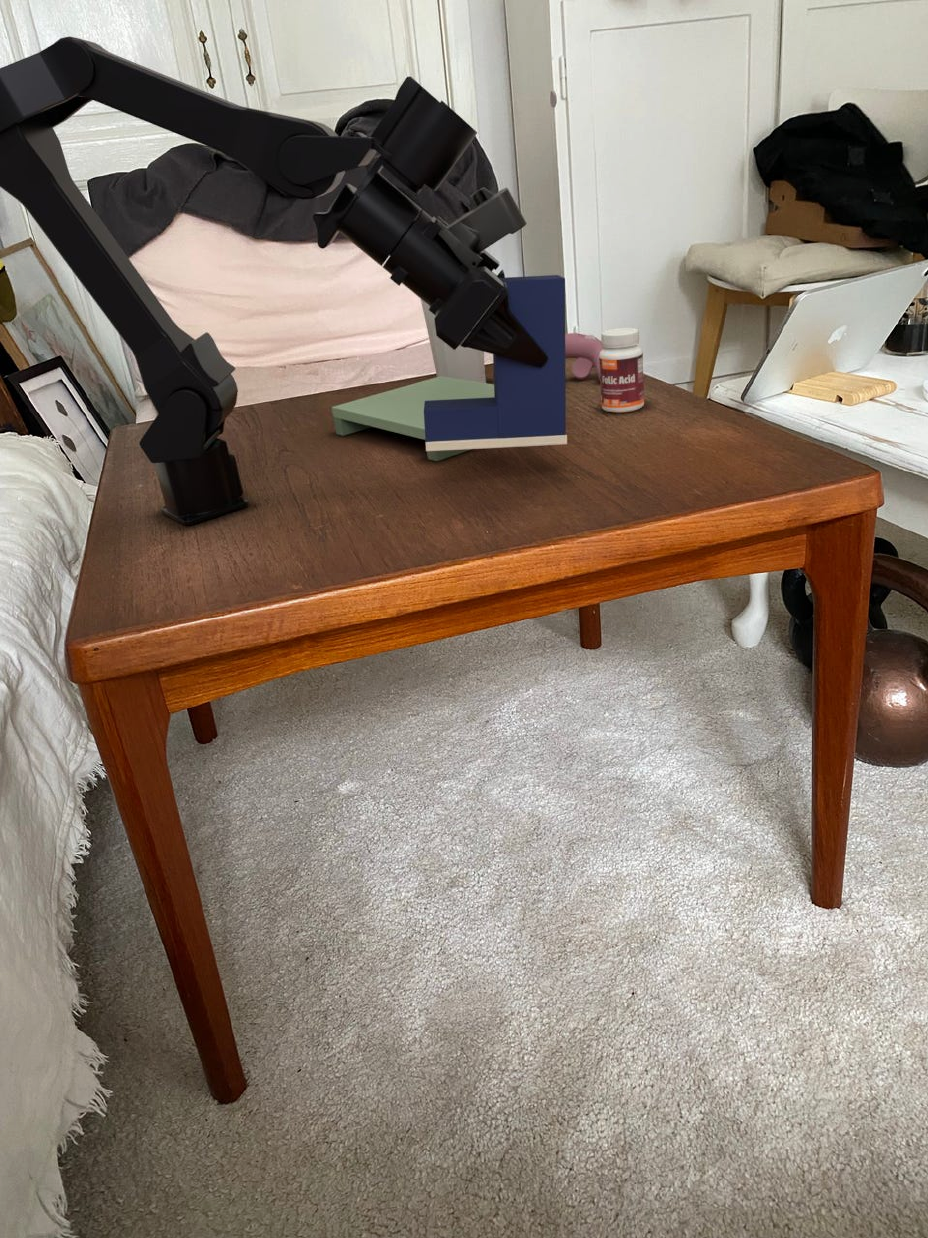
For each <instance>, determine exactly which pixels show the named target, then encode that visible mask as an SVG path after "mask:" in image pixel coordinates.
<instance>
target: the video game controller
mask: <svg viewBox="0 0 928 1238" xmlns="http://www.w3.org/2000/svg"><path fill="white" fill-rule="evenodd" d="M601 342H602V340H600V339H599V338H598V337H596V336H595V335H594V334H582V333H578V332H569V333H565V360H567V359H576V360H575V361H574V363H573V365H572V368H571V371H572V374H573V376H574V378H575V379H577V380H579V381H584V380H586V379H588V378H589V377H590V375H591V372H592V370H593V368H594V369H595V372H596V375H597V378H598V380H599V381H600V363H599V354H600V352H601V351H602V350H603V349H604V347H603V346H602V343H601Z"/></svg>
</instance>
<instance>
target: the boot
mask: <svg viewBox="0 0 928 1238" xmlns="http://www.w3.org/2000/svg"><path fill="white" fill-rule="evenodd" d="M499 279H500V280H501V281H502V282H503V284H504V283H505V282H506V284H507V289H508V300H509V309H510V311H511V312H512V313H513V315H514V316H515V317H516V318H517V319H518V321H519V322H520V323H521V324H522V325H523V327H524V328H525V329H526V330H527V331H528V333H529V334H530V335H531V336H532V337H533V339H534V340H535V341H536V342H537V344H538V345H539V346H540V347H541V348H542V350H543V351H544V352H545V353H546V355H547V356H548V360H547V361H546V363H545V364H544V365H543V366H542V367H537V366H533V365H530V364H526V363H523V362H519V361H516V360H513V359H509V358H506V357H502V356H498V355H495V354H492V363H493V364H492V365H493V367H492V368H493V384H494V397H489V398H469V399H450V400H430V401H425V403H424V424H425V440H424V441H426V442H425V452H427V451H446V450H466V449H472V450H483V449H502V448H503V449H505V448H522V447H523V448H525V447H542V446H562V445H567V444H568V435H567V430H566V429H567V423H566V422H567V421H566V420H567V417H566V412H567V409H566V407H567V405H566V398H567V396H566V394H567V393H566V389H567V388H566V359H565V334H566V278H565V277H564V276H561V275H559V274H550V275H549V274H547V275H529V276H510V277H509V276H508V277H505V278H499Z"/></svg>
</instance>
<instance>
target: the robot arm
mask: <svg viewBox="0 0 928 1238" xmlns="http://www.w3.org/2000/svg"><path fill="white" fill-rule="evenodd" d="M92 101H93V102H97V103H98V104H102V105H104V106H106V107H109V108H111V109H114V110H117V111H119V112H121V113H124V114H126V115H129V116H132V117H133V118H137V119H139V120H141V121H144V122H146V123H149V124H151V125H154V126H155V127H156V126H157V127H158V128H161V129H164V130H166V131H168V132H171V133H174V134H176V135H178V136H181V137H184V138H185V139H188V140H191V141H194V142H196V143H199V144H201V145H204V146H206V147H208V148H210V149H214V150H216V151H218V152H221V153H222V154H224V155H226V156H227V157H228V158H230V159H232V160H233V161H235V162H236V163H238V164H239V165H240V166H242V167H243V168H245V170H247V171H248V172H250V173H251V174H252V175H254V176H256V177H257V178H259V179H261V180H263V181H264V182H266V183H267V184H269V185H270V186H272V187H274V188H275V189H277V190H278V191H280V192H282V193H283V194H285V195H287V196H289V197H291V198H292V199H293V198H294V199H297V200H304V201H305V200H313V199H317V198H320V197H323V196H325V195H327V194H329V193H331V192H333V191H334V190H335V189H336V188H337V187H338V186H339V185H340V183H342V180H343V178H344V175H345V174H346V173H348V172H350V171H354V170H356V169H359V168H362V167H365V166H367V165H369V164H370V163H371V161H372V160H373V158H374V157H375V155H376V154H377V153H378V154H379V155H380V156H379V157H378V158H377V159H376V162H375V163H374V164H373V166H372V167H371V169H370V171H369V172H368V173H367V175H366V176H365V177H364V178H363V180H362V182H361V183H360V184H359V185H358V187H357V188H356V187H355V186H354V185H352V184H350V183H345V184H344V185H343V187H342V189H341V190H340V191H339V193H338V194H337V196H336V197H335V199H334V200H333V202H332V204H331V205H330V207H329V208H328V210H327V211H325V212H323V211H322V212H319V211H318V212H315V213H313V214H312V216H311V218H312V221H313V224H314V226H315V229H316V237H317V246H318V248H320V249H322V250H323V249H326V248H327V247H329V246H330V245H332V243H333V242H334V240H335V239H336V237H337V236H338V235H339V234H341V235H343V237H345V238H346V239H347V240H348V241H350V242H351V243H352V244H354V245H355V246H356V247H357V248H358V249H360V250H361V251H362V252H363V253H364V254H366V255H367V256H368V257H369V258H370V259H372V260H373V261H374V262H375V263H376V264H378V265H379V266H380V267H382V268H383V269H384V270H385V271H386V272H388V273H389V274H390V275H391V276H390V277H389V279H390V281H392V282H394V283H395V284H396V285H397V286H398V287H400V286H401V284H402V285H403V286H405V288H407V289H408V290H409V291H410V292H412V293H413V294H414V295H416V296H417V297H418V299H420V298H421V299H422V300H423V301H424V302H425V303H427V304H428V305H429V306H430V307H429V311H430V312H432V313H433V314H434V315H435V318H434V320H435V328H436V336H437V337H439V338H440V339H441V340H442V341H444V342H445V343H446V344H447V345H448V346H450V347H451V348H452V349H453V350H455V349H456V348H457V347H458V346H459V345H460V346H462V347H464V348H466V347H468V348H472V349H475V350H479V351H483V352H484V353H488V354H491V355H493V354H495V355H498V356H502V357H506V358H509V359H513V360H516V361H519V362H523V363H526V364H530V365H533V366H537V367H542V366H543V365H544V364H545V363H546V361H547V360H548V356H547V355H546V353H545V352H544V351H543V350H542V348H541V347H540V346H539V345H538V344H537V342H536V341H535V340H534V339H533V337H532V336H531V335H530V334H529V333H528V331H527V330H526V329H525V328H524V327H523V325H522V324H521V323H520V322H519V321H518V319H517V318H516V317H515V316H514V315H513V313H512V312H511V311H510V309H509V300H508V289H507V284H506V282H505V283H504V284H503V282H502V281H501V280H500V279H499V278H506V275H505V271H504V269H501V270H500V271H499V272H498V274H497V275H496V274H495V273H494V272H493V271H494V270H495V271H496V270H497V269H498V268H499V267H500V261H499V260H498V259H496V258H495V257H494V256H493V255H492V254H491V253H490V252H488V251H487V250H486V249H488V248H489V247H491V246H492V245H494V244H495V243H498V242H499V241H500V240H501V239H504V237H506V236H508V235H514V234H516V233H517V232H518V231H520V230H521V229H523V228H524V227H525V226H527V222H526V221H527V220H526V219H525V218H524V216H523V214H522V212H521V210H520V209H519V207H518V204H517V202H516V201H515V199H514V197H513V196H512V194H511V192H510V189H509V188H508V187H507V186H506V187H505V188H502V189H500V190H499V191H498V192H497V193H493V191H492V192H491V191H490V190H489V189H487V188H486V187H482V188H480V189H478V190H477V191H475V192H474V193H472V194H471V195H469V208H470V210H469V211H468V212H466V213H464V214H463V215H461V216H460V217H459V218H458V219H456V220H455V221H453V222H451V223H450V224H449V223H448V222H447V221H445V219H443V218H442V217H441V216H439V215H438V216H437V217H435V216H433V217H432V216H430V214H428V213H427V212H426V211H425V210H423V209H422V208H421V207H420V206H419V205H418V204H416V203H415V202H414V201H413V200H412V199H411V198H409V197H408V196H407V195H406V194H405V193H403V191H401V190H400V189H399V188H397V187H396V186H395V184H393V183H391V182H390V181H389V180H388V179H387V178H386V177H385V176H384V175H383V174H382V173H381V171H382V170H383V169H386V170H387V171H388V172H389V173H390V174H391V175H392V176H394V178H396V179H397V180H398V181H399V182H401V184H403V185H404V186H405V187H406V188H408V189H409V190H411V191H412V192H413V193H414V194H416V195H419V194H420V193H421V191H422V190H423V188H425V186H427V187H428V188H430V190H432V191H434V192H437V191H438V189H439V187H440V186H441V185H442V183H443V182H444V181H445V179H446V178H447V177H448V175H449V174H450V172H452V169H453V168H454V166H455V165H456V164H457V162H458V161H459V159H460V158H461V157H462V155H463V154H464V153H465V151H466V150H467V148H468V147H469V145H470V144H471V142H472V141H473V140H474V139H475V137H476V136H477V134H478V132H477V131H476V130H475V129H474V128H473V127H472V126H471V125H470V124H469V123H468V122H467V121H465V120H464V119H463V117H462V116H460V115H459V114H458V113H457V112H456V111H454V110H453V109H452V108H451V107H450V106H449V105H448V104H447V103H446V102H444V101H443V100H441V101H440V100H438V99H437V98H436V97H435V96H433V95H432V94H431V92H429V91H428V90H426V89H425V88H424V87H423V86H422V85H421V84H420V83H419V82H417V81H416V79H414V78H413V77H412V76H406V77H405V79H404V80H403V82H402V84H401V85H400V86H399V88H398V90H397V93H396V96H395V98H394V100H393V101H392V103H391V104H390V106H389V108H388V110H387V111H386V113H385V114H384V115H383V117H382V118H381V119H380V121H379V123H378V125H377V126H375V129H374V130H373V131H372V133H371V135H370V136H367V135H366V134H364V133H363V132H357V131H356V132H355V134H354V135H353V136H339V135H338V133H336V131H335V130H333V128H331V127H329V126H328V125H326V124H324V123H322V122H319V121H315V120H309V119H305V118H300V117H295V116H290V115H285V114H282V113H275V112H270V111H267V110H261V109H256V108H251V107H246V106H242V105H239V104H237V103H234V102H232V101H229V100H227V99H224V98H222V97H219V96H217V95H214V94H212V93H210V92H207V91H206V90H203V89H200V88H198V87H195V86H193V85H190V84H188V83H185V82H182V81H180V80H178V79H175V78H173V77H171V76H169V75H166V74H164V73H161V72H158V71H156V70H154V69H150V68H148V67H146V66H144V65H141V64H139V63H136V62H134V61H131V60H129V59H127V58H124V57H122V56H119V55H116V54H114V53H112V52H110V51H108V50H107V49H105V48H104V47H103V46H102V45H100V44H98V43H96V42H94V41H90V40H86V39H82V38H80V37H74V36H64V37H61V38H59V39H58V40H56V41H54V43H53V44H51V45H49V46H47V47H46V48H44V49H42V50H40V51H38V52H37V53H33V54H31V55H29V56H27V57H24V58H21V59H19V60H17V61H15V62H12V63H10V64H7V65H5V66H2V67H0V188H1V189H2V190H4V192H6V193H8V194H9V195H10V196H11V197H13V198H14V199H15V200H17V201H18V202H19V203H20V204H21V205H22V206H23V207H24V208H25V209H26V210H27V212H28V213H29V215H30V216H31V217H32V219H33V220H34V221H35V222H36V224H37V225H38V227H39V228H40V229H41V231H42V232H43V233H44V235H45V236H46V238H47V239H48V240H49V242H50V243H51V245H52V246H53V247H54V249H55V250H56V251H57V252H58V254H59V255H60V256H61V258H62V259H63V260H64V262H65V263H66V264H67V266H68V267H69V269H70V270H71V271H72V273H73V274H74V275H75V276H76V278H77V279H78V280H79V282H80V283H81V285H82V286H83V287H84V289H85V290H86V292H87V293H88V294H89V296H90V297H91V298H92V299H93V302H95V303H96V305H97V307H98V308H99V309H100V310H101V312H102V313H103V315H104V316H105V317H106V318H107V320H108V321H109V322H110V324H111V325H112V327H113V328H114V329H115V331H116V332H117V333H118V335H119V336H120V337H121V339H122V341H124V343H125V344H126V345H127V347H128V348H129V349H130V350H131V352H132V355H133V356H134V359H135V362H136V364H137V368H138V372H139V374H140V378H141V379H140V380H141V382H142V385H143V388H144V391H145V393H146V394H147V396H148V399H149V400H150V402H151V404H152V406H153V408H154V409H155V412H156V413H157V415H156V416H155V418H154V420H153V421H152V422H151V424H150V426H149V427H148V429H147V430H146V431H145V433H144V435H143V436H142V437H141V438H140V441H139V447H140V448H141V450H142V451H143V453H144V454H145V456H146V457H147V459H148V461H150V463H151V464H154V468H155V472H156V476H157V479H158V483H159V487H160V491H161V494H162V498H163V502H164V505H163V506H161V507H160V508H159V509H160V513H161V514H163V515H165V516H167V517H168V518H171V519H172V520H174V521H175V522H178V523H180V524H181V525H183V526H190V525H194V524H198V523H200V522H203V521H206V520H210V519H212V518H215V517H219V516H222V515H225V514H228V513H230V512H233V511H236V510H240V509H243V508H246V507H248V506H249V503H248V500H247V499H245V498H243V495H244V489H243V486H242V480H241V476H240V472H239V468H238V465H237V459H236V455H234V454H233V453H231V452H230V451H229V447H228V443H227V441H226V440H224V439H221V438H219V436H220V435H222V434H223V433H224V431H225V424H226V419H227V418H228V417H229V416H230V414H232V412H233V411H234V409H235V407H236V405H237V402H238V392H239V389H238V385H237V382H236V379H235V378H234V376H233V374H232V373H234V371H236V367H235V366H234V365H233V364H231V363H230V362H228V361H227V359H225V358H224V357H223V355H222V353H221V352H220V350H219V347H218V346H217V344H216V342H215V340H214V338H213V336H211V334H210V332H208V331H207V332H204V333H203V334H201V335H199V336H198V337H197V338H196V339H195V338H194V337H192V336H191V335H190V334H188V333H187V332H186V331H184V329H181V327H179V326H178V325H177V324H176V322H174V320H173V319H172V317H171V316H170V314H169V313H168V312H167V310H166V309H165V308H164V306H163V305H162V303H161V301H159V299H158V298H157V296H156V295H155V294H154V291H152V290H151V288H150V286H149V285H148V284H147V282H146V281H145V280H144V278H143V277H142V275H141V274H140V272H139V271H138V270H137V268H136V267H135V266H134V264H133V263H132V261H131V260H130V259H129V257H128V256H127V254H126V252H125V251H124V250H123V248H121V246H120V245H119V243H118V242H117V240H116V239H115V237H114V236H113V235H112V233H111V232H110V230H109V229H108V227H107V226H106V225H105V224H104V222H103V220H102V219H101V218H100V216H99V215H98V213H96V211H95V210H94V208H93V206H92V205H91V203H90V202H89V201H88V200H87V198H86V196H84V194H83V192H82V191H81V190H80V189H79V187H78V186H77V184H76V183H75V181H74V180H73V178H72V176H71V174H70V171H69V167H68V164H67V161H66V157H65V153H64V150H63V147H62V144H61V141H60V139H59V137H58V135H57V134H56V131H55V129H54V128H56V127H57V126H59V125H61V124H63V123H65V122H66V121H68V119H70V118H71V117H73V116H74V115H75V114H77V112H79V111H81V110H82V109H83V108H84V107H85V106H86V105H88V104H89V103H91V102H92ZM421 299H420V300H421Z"/></svg>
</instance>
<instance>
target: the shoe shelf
mask: <svg viewBox="0 0 928 1238" xmlns="http://www.w3.org/2000/svg"><path fill="white" fill-rule="evenodd" d="M489 397H494V383H487V382H486V383H481V382H475V381H469V380H463V379H457V378H450V377H444V376H439V377H437V376H436V377H432V378H430V379H426V380H422V381H419V382H415V383H412V384H408V385H405V386H404V385H403V386H400V387H397V388H394V389H390V390H387V391H384V392H379V393H376V394H373V395H369V396H366V397H362V398H358V399H355V400H352V401H349V402H348V401H347V402H345V403H344V402H343V403H342V404H337V405H334V406H331V412H332V417H333V425H334V429H335V434H336V435H339V436H347V435H350V434H354V433H358V432H361V431H364V430H366V429H371V428H376V429H380V430H383V431H388V432H393V433H395V434H399V435H403V436H408V437H412V438H416V439H420V440H424V441H425V443H426V440H425V424H424V403H425V401H430V400H450V399H469V398H489ZM472 450H473V449H466V450H446V451H426V454H427V459H428V460H431V461H434V462H440V461H442V460H445V459H448V458H451V457H454V456H457V455H459V454H463V453H466V452H468V451H472Z"/></svg>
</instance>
